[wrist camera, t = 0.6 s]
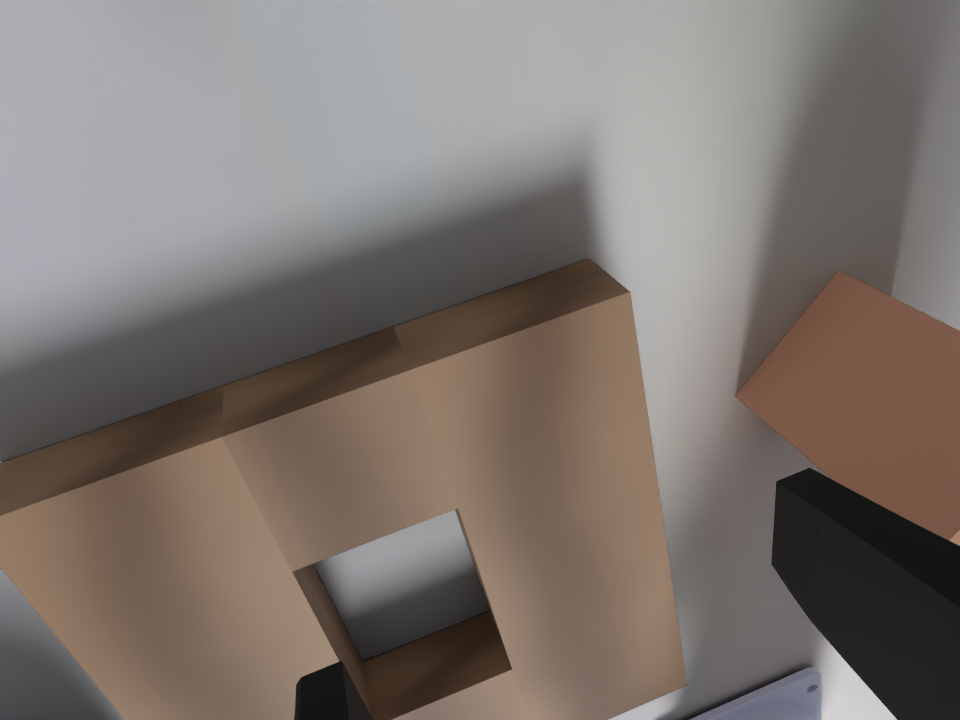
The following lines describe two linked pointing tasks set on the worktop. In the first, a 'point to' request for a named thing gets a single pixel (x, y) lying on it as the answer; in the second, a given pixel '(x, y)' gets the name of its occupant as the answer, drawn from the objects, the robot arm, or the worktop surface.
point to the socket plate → (371, 521)
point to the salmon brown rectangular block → (870, 400)
